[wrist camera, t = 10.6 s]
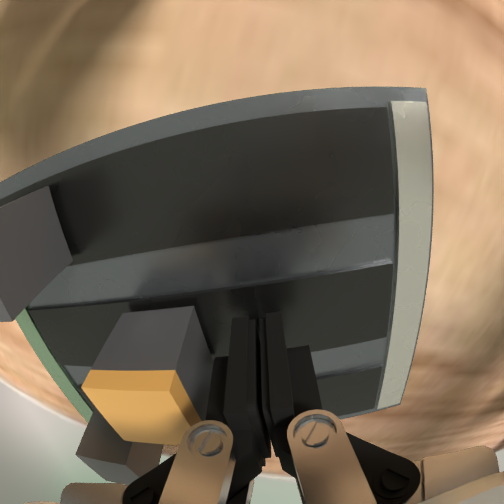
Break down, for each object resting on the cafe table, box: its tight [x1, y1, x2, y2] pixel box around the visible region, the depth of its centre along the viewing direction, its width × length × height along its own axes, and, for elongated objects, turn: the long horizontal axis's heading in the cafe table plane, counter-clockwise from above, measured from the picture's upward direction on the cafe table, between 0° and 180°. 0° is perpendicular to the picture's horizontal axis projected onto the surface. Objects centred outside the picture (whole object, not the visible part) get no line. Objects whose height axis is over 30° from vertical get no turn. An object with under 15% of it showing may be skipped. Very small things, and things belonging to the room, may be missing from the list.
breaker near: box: [0, 186, 73, 322], centre depth 8 cm, size 3×3×4 cm
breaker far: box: [76, 407, 163, 485], centre depth 12 cm, size 3×3×4 cm
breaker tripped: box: [81, 306, 213, 445], centre depth 9 cm, size 3×3×4 cm
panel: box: [0, 87, 433, 423], centre depth 12 cm, size 20×16×2 cm
